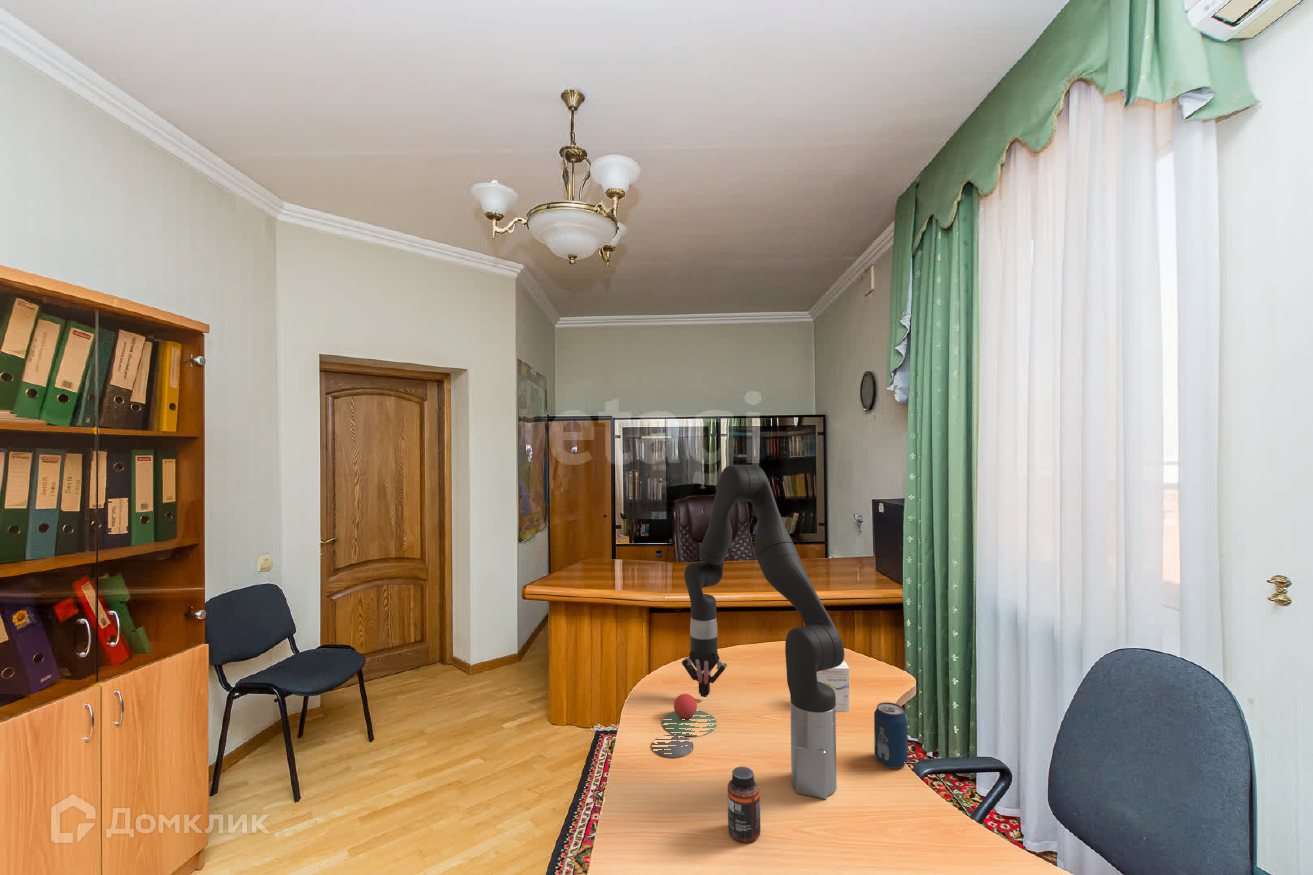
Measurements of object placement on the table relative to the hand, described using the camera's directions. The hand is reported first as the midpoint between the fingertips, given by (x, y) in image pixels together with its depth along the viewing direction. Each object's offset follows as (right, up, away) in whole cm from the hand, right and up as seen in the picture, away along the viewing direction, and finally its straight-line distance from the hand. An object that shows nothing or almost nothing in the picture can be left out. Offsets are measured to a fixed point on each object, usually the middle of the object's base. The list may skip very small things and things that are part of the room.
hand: (704, 695), depth 160 cm
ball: (-6, +1, -9) cm, 11 cm away
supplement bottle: (+3, -2, -53) cm, 53 cm away
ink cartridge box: (+34, -1, -4) cm, 34 cm away
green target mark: (-5, -2, -12) cm, 13 cm away
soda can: (+39, -1, -30) cm, 50 cm away
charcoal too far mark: (-10, -2, -23) cm, 25 cm away
